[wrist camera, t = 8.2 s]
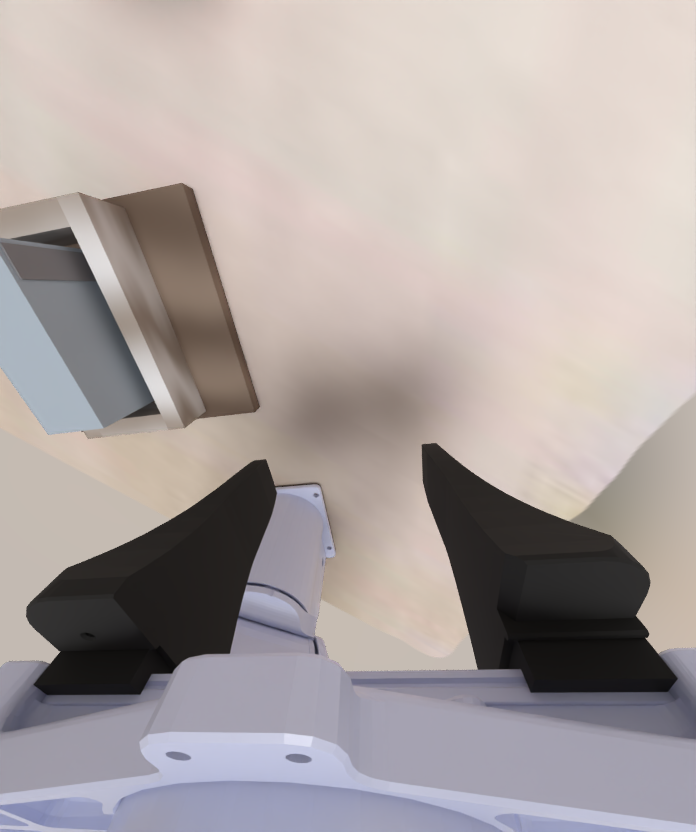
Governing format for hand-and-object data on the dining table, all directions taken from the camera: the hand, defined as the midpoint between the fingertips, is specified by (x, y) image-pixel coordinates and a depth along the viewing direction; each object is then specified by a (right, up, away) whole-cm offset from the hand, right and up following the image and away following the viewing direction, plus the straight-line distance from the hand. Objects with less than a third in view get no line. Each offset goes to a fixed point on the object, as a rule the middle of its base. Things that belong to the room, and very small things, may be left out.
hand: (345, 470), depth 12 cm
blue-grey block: (-15, +8, +6) cm, 19 cm away
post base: (-15, +9, +7) cm, 19 cm away
